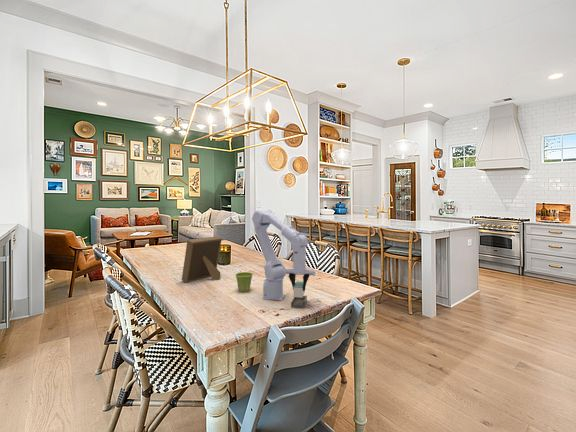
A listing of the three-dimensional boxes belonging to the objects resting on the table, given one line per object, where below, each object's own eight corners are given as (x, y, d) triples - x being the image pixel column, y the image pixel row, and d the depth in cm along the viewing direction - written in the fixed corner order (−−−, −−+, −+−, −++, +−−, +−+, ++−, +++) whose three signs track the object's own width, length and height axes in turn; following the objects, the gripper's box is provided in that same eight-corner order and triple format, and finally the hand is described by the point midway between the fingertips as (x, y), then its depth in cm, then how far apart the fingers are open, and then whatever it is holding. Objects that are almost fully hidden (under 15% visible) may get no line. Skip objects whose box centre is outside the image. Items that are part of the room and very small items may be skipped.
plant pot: (256, 290, 159) (256, 274, 159) (242, 294, 152) (242, 277, 152) (245, 286, 166) (245, 271, 165) (231, 290, 159) (231, 274, 158)
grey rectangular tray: (291, 307, 135) (291, 302, 135) (295, 299, 146) (295, 294, 146) (303, 308, 134) (303, 303, 134) (306, 300, 144) (306, 295, 144)
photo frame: (181, 281, 174) (181, 239, 173) (211, 273, 192) (211, 235, 190) (197, 286, 166) (197, 241, 164) (227, 278, 183) (227, 237, 182)
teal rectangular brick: (293, 296, 136) (293, 286, 135) (296, 291, 143) (296, 281, 143) (302, 297, 135) (302, 286, 134) (304, 292, 143) (304, 281, 142)
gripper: (282, 262, 135) (281, 291, 136) (313, 263, 132) (313, 293, 133) (285, 258, 142) (285, 286, 143) (315, 260, 139) (315, 289, 140)
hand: (299, 289), depth 139 cm, fingers closed on teal rectangular brick, 4 cm apart
